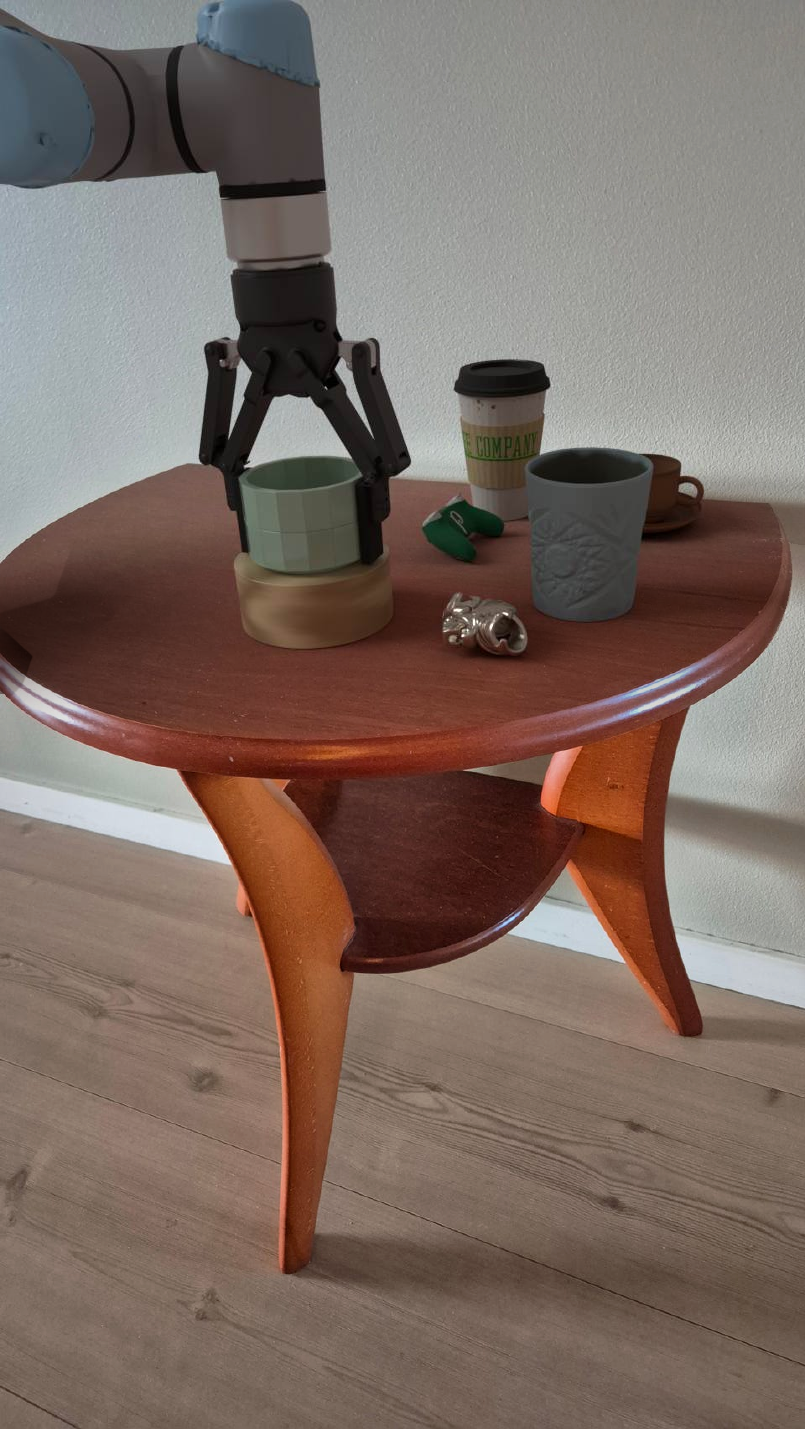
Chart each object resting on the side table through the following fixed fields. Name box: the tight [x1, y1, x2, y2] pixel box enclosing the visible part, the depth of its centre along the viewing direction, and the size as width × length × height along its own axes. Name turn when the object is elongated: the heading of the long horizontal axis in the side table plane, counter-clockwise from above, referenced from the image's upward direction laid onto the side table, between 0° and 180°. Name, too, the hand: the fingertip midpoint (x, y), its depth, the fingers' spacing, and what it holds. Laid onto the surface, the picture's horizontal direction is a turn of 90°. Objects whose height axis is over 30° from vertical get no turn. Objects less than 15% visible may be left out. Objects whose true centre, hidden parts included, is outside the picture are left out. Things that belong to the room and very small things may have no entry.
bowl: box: [239, 455, 364, 574], centre depth 81 cm, size 10×10×7 cm
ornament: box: [441, 592, 528, 657], centre depth 78 cm, size 8×7×4 cm
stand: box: [233, 541, 394, 650], centre depth 84 cm, size 13×13×6 cm
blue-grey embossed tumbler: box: [525, 446, 653, 623], centre depth 82 cm, size 10×10×12 cm
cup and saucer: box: [639, 453, 705, 534], centre depth 100 cm, size 12×12×6 cm
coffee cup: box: [453, 358, 552, 522], centre depth 103 cm, size 10×10×15 cm
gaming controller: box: [421, 492, 505, 563], centre depth 98 cm, size 9×4×6 cm
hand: (312, 553), depth 82 cm, fingers closed on bowl, 10 cm apart
